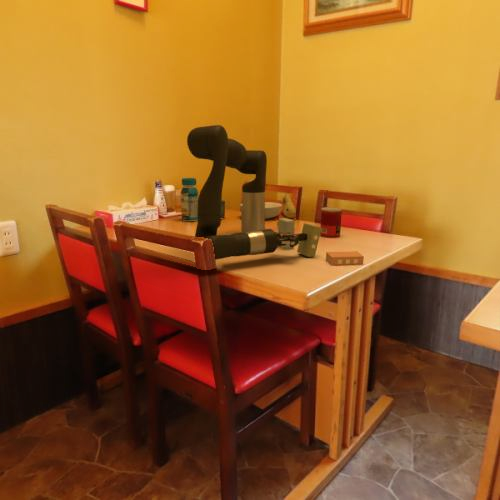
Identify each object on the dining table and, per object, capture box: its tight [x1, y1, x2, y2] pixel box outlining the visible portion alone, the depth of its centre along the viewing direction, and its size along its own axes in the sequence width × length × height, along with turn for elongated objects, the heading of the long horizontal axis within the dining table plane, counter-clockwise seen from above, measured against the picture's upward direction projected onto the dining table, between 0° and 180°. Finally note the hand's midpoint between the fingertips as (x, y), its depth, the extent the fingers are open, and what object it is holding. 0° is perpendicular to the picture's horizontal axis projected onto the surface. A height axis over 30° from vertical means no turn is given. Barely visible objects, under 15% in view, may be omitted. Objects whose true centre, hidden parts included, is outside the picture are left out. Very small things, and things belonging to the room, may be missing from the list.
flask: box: [221, 199, 226, 219], centre depth 198 cm, size 9×3×11 cm, turn 151°
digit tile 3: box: [325, 250, 365, 266], centre depth 129 cm, size 3×6×10 cm
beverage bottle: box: [180, 177, 199, 222], centre depth 195 cm, size 8×8×20 cm
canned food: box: [320, 206, 343, 239], centre depth 164 cm, size 8×8×11 cm
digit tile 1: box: [277, 218, 296, 251], centre depth 146 cm, size 3×6×10 cm, turn 27°
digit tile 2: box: [296, 222, 322, 258], centre depth 135 cm, size 3×6×10 cm, turn 26°
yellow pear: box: [276, 193, 297, 227], centre depth 177 cm, size 7×11×15 cm, turn 30°
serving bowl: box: [239, 201, 283, 220], centre depth 203 cm, size 21×21×7 cm
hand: (305, 236), depth 135 cm, fingers closed
